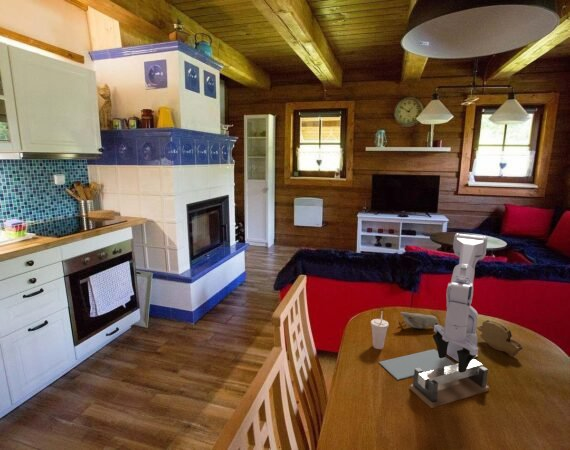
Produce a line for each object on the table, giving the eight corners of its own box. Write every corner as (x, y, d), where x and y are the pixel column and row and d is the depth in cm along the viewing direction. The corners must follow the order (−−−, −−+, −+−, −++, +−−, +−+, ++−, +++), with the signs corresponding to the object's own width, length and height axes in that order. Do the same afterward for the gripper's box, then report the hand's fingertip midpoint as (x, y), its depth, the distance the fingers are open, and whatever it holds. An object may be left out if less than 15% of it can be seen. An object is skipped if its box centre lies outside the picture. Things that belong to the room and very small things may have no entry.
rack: (464, 373, 114) (466, 354, 112) (488, 390, 105) (491, 370, 104) (409, 388, 106) (411, 367, 105) (431, 408, 98) (433, 386, 97)
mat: (434, 350, 127) (434, 349, 127) (455, 365, 118) (455, 364, 118) (378, 362, 119) (378, 361, 119) (397, 380, 110) (397, 379, 110)
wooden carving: (523, 358, 122) (527, 332, 120) (515, 361, 120) (519, 335, 119) (480, 336, 137) (483, 313, 135) (472, 339, 135) (475, 315, 133)
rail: (473, 367, 110) (474, 359, 110) (481, 373, 107) (482, 364, 107) (417, 382, 103) (418, 373, 102) (424, 389, 100) (425, 379, 99)
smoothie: (387, 352, 126) (390, 316, 123) (369, 350, 127) (371, 314, 124) (386, 342, 132) (388, 308, 129) (369, 341, 133) (371, 307, 130)
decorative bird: (440, 332, 141) (442, 315, 139) (400, 332, 141) (402, 314, 139) (434, 325, 146) (436, 309, 144) (396, 325, 146) (397, 309, 144)
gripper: (427, 313, 107) (423, 353, 109) (466, 336, 93) (461, 381, 96) (445, 310, 109) (441, 349, 112) (485, 332, 96) (480, 376, 98)
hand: (451, 364), depth 104 cm, fingers open, 7 cm apart
